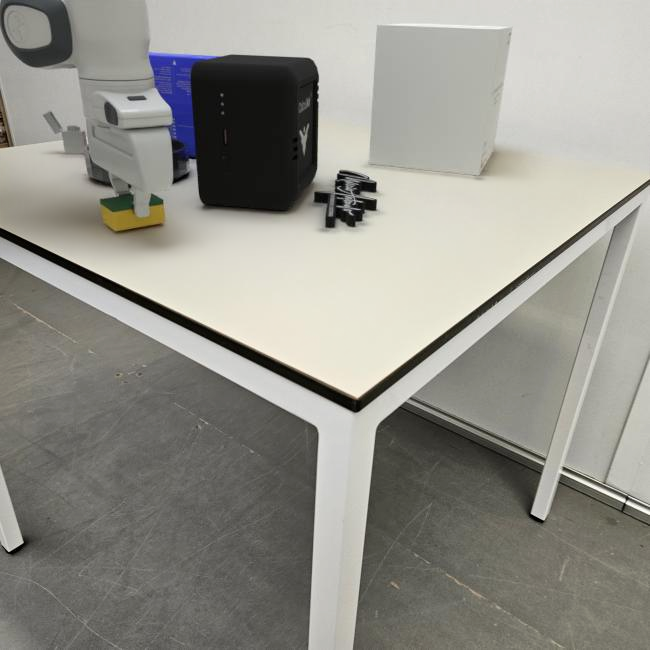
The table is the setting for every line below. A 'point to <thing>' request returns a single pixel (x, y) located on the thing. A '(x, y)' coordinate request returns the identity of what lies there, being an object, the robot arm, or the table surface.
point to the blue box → (177, 92)
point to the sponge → (130, 212)
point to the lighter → (68, 135)
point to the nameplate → (347, 198)
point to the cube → (437, 95)
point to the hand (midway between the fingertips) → (132, 210)
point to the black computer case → (255, 129)
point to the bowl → (102, 175)
